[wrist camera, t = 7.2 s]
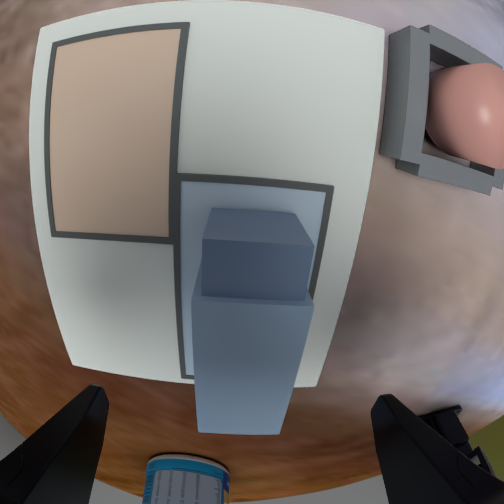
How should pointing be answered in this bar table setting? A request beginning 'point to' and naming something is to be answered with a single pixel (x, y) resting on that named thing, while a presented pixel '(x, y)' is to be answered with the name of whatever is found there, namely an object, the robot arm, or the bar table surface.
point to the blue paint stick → (249, 319)
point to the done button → (468, 112)
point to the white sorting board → (193, 163)
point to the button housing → (415, 106)
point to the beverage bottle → (185, 481)
